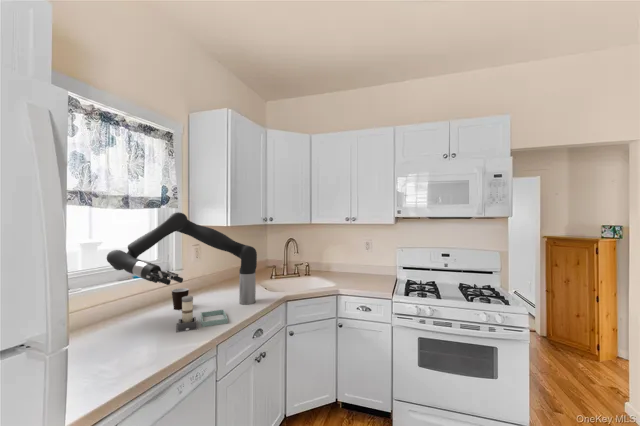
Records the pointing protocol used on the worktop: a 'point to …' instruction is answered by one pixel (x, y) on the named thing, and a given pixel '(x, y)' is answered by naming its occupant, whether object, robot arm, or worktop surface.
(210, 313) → the parts tray
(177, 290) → the coffee mug
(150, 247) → the robot arm
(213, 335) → the worktop surface
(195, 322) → the fuse holder
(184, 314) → the cylinder
